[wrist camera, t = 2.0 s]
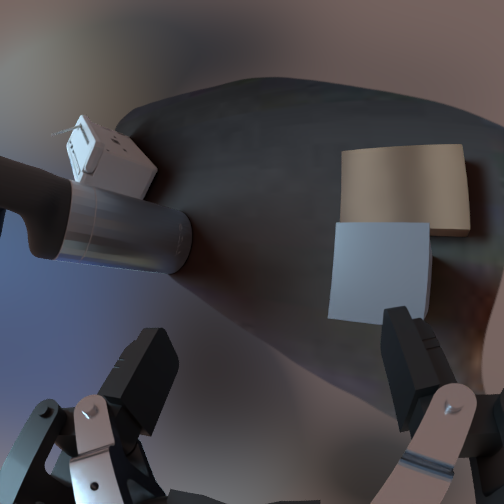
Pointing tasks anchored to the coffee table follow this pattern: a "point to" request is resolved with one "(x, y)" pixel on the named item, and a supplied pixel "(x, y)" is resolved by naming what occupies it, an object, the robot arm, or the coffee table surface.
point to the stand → (407, 187)
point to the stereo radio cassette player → (108, 159)
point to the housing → (380, 270)
